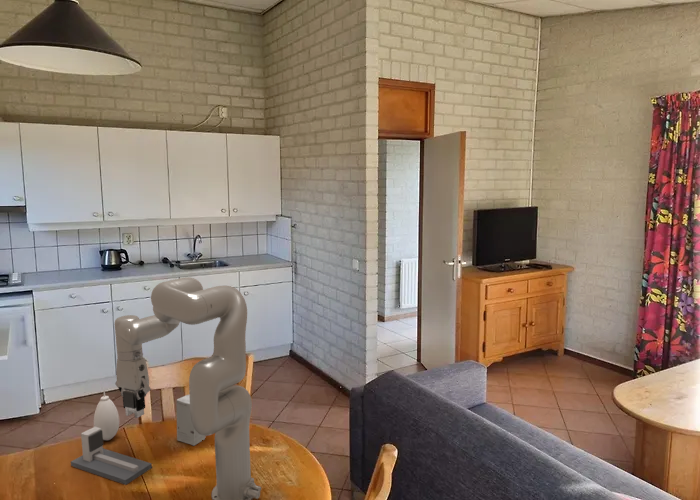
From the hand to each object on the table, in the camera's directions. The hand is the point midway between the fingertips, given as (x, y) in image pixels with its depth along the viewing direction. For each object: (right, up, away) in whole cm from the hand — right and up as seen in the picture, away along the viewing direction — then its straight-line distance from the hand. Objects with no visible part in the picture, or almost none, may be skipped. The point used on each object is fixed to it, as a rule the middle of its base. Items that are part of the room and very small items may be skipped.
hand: (134, 407), depth 171 cm
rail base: (-5, -17, -6) cm, 18 cm away
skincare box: (+16, -14, +10) cm, 24 cm away
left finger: (0, -2, 0) cm, 3 cm away
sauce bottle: (-14, -15, +11) cm, 23 cm away
